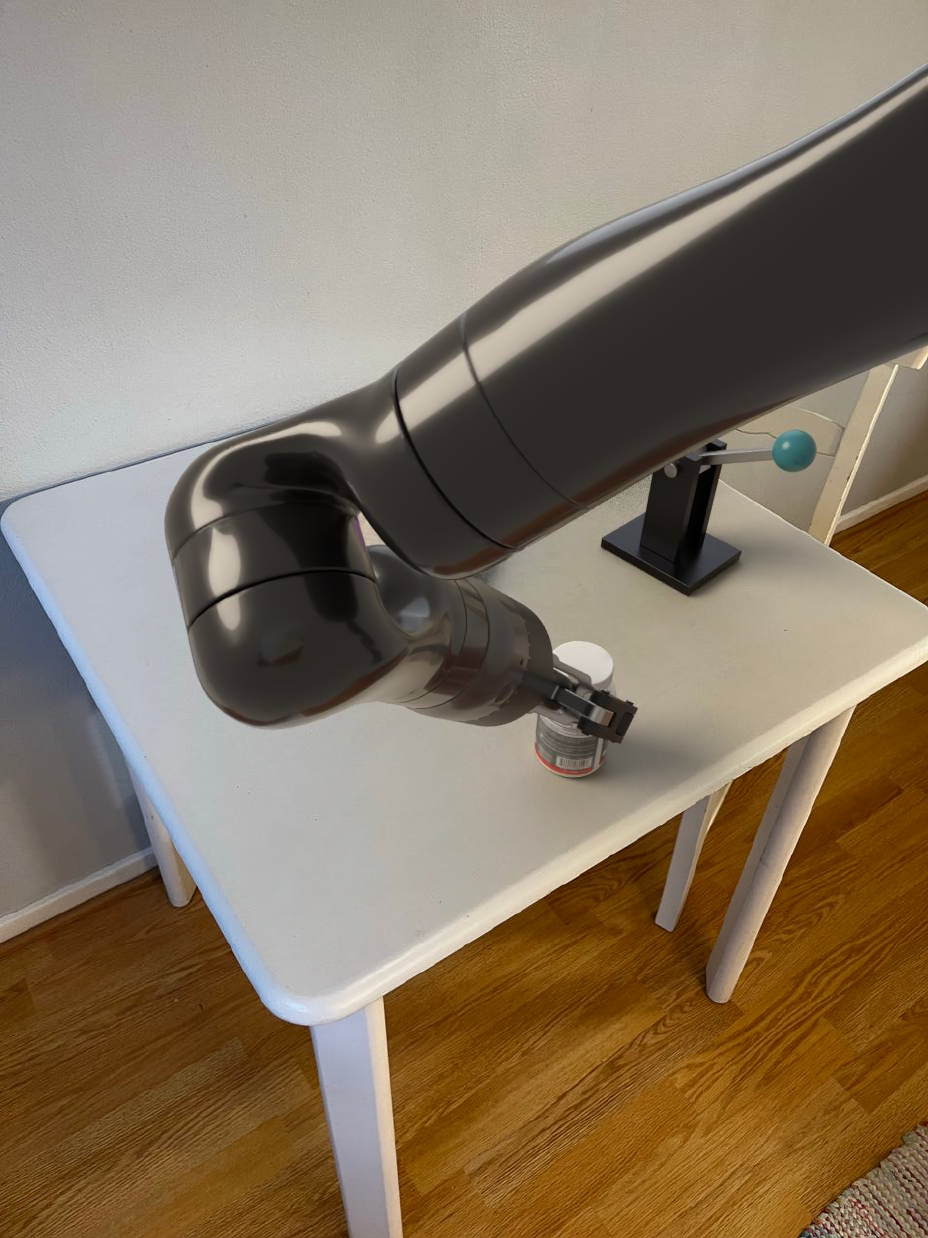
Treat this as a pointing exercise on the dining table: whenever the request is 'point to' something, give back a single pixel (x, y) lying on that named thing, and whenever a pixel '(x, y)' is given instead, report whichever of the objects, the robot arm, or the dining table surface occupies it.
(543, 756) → the pill bottle
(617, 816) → the dining table surface
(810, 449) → the lever with teal knob
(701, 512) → the bracket
